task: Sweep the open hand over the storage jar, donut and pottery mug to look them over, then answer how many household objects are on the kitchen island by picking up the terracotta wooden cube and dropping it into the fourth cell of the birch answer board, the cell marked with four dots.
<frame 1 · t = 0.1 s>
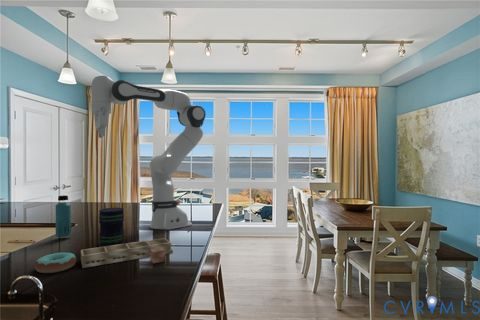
hand: (101, 137, 145), 48 cm above the kitchen island, tool pointing down, fingers open, 8 cm apart
beverage bottle: (63, 238, 137), on the kitchen island
donut: (56, 269, 99), on the kitchen island
answer board: (127, 255, 112), on the kitchen island
count cube: (157, 260, 105), on the kitchen island
storage jar: (111, 244, 127), on the kitchen island
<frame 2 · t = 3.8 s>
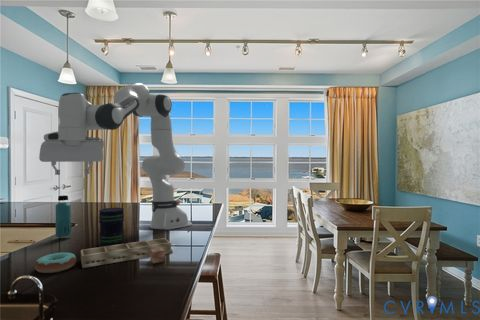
hand: (72, 174, 108), 31 cm above the kitchen island, tool pointing down, fingers open, 8 cm apart
nothing on the kitchen island moved.
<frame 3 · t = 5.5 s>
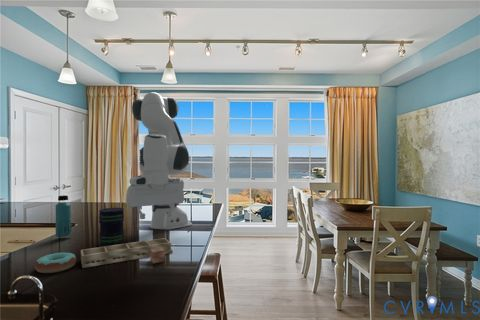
hand: (156, 217, 105), 15 cm above the kitchen island, tool pointing down, fingers open, 8 cm apart
nothing on the kitchen island moved.
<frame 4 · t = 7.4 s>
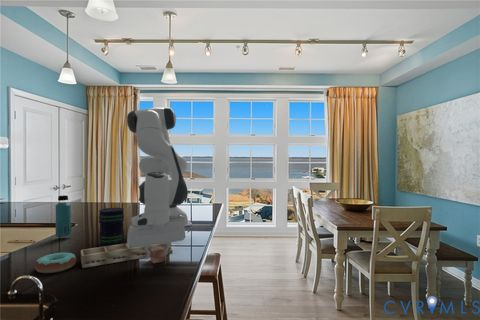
hand: (157, 256, 105), 2 cm above the kitchen island, tool pointing down, fingers closed on count cube, 4 cm apart
count cube: (157, 260, 105), on the kitchen island, touching gripper
everything else where it was.
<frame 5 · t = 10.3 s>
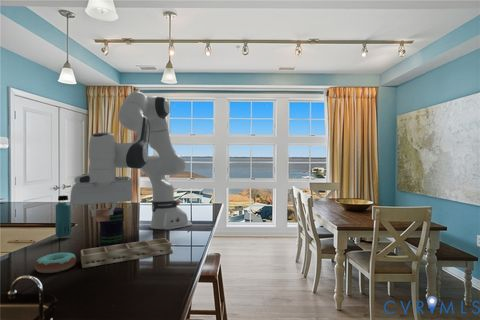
hand: (102, 215, 106), 16 cm above the kitchen island, tool pointing down, fingers closed on count cube, 4 cm apart
count cube: (102, 220, 106), point 15 cm above the kitchen island, touching gripper
everything else where it was.
when the fingers open (5 cm above the kitchen island, at t = 13.1 s): count cube drops 2 cm, resting on answer board.
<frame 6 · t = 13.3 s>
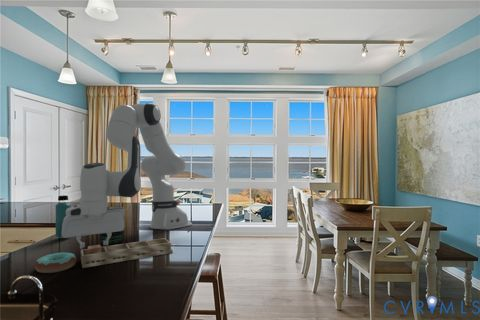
hand: (94, 246, 106), 5 cm above the kitchen island, tool pointing down, fingers open, 6 cm apart
count cube: (94, 257, 106), point 1 cm above the kitchen island, touching answer board
everything else where it was.
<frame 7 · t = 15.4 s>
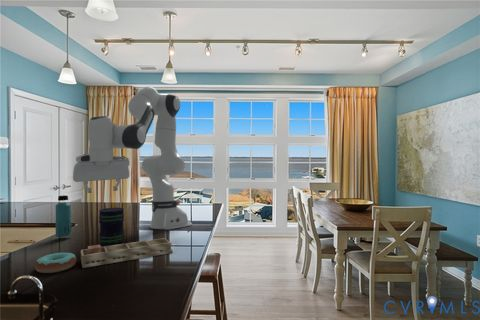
hand: (102, 191, 117), 24 cm above the kitchen island, tool pointing down, fingers open, 8 cm apart
nothing on the kitchen island moved.
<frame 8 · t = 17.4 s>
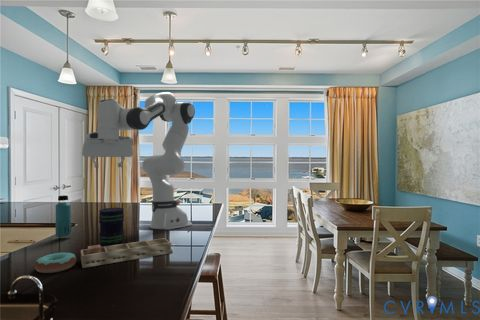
hand: (108, 167, 129), 33 cm above the kitchen island, tool pointing down, fingers open, 8 cm apart
nothing on the kitchen island moved.
at the end: count cube 0.0 cm from the target spot on the answer board, point 1.0 cm above the answer board's base; the gripper is holding nothing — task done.
